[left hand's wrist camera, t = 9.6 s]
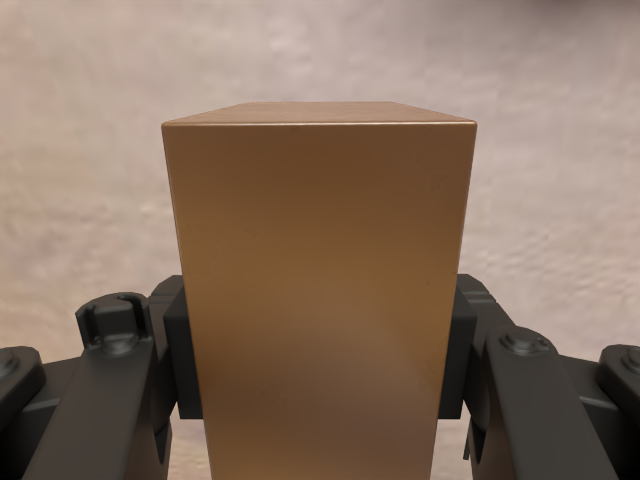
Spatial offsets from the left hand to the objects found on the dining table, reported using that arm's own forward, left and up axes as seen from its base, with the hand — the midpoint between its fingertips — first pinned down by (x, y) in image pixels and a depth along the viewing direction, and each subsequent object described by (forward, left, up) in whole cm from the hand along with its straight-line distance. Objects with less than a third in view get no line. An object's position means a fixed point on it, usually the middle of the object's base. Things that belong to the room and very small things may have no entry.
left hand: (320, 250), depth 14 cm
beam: (+6, -20, 0) cm, 21 cm away
